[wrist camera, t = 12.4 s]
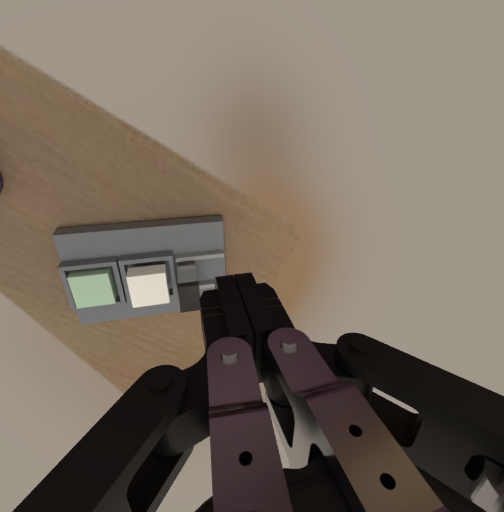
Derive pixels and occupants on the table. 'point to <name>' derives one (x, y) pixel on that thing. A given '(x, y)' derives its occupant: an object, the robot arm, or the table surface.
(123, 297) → the panel
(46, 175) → the table surface
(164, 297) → the white button
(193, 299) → the paddle switch
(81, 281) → the green button
